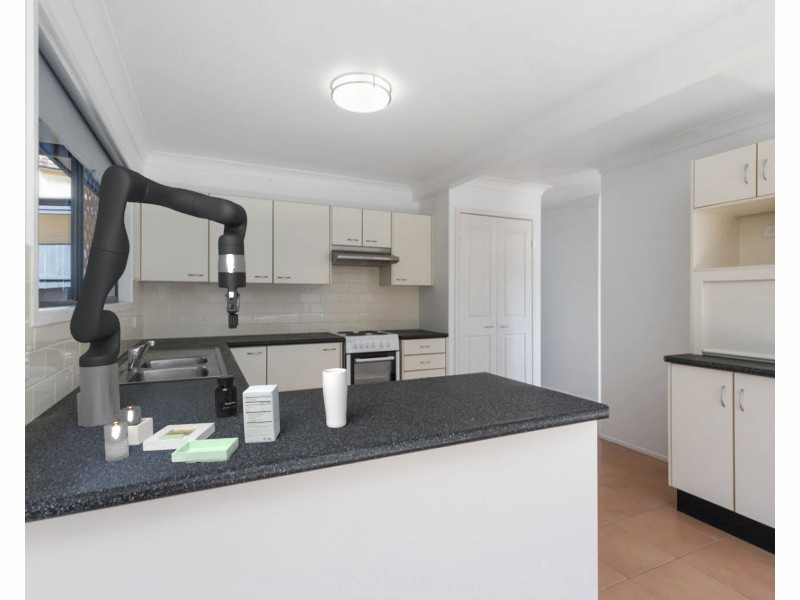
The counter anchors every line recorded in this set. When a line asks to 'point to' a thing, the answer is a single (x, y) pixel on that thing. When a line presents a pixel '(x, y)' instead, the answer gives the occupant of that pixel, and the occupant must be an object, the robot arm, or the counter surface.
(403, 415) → the counter surface
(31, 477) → the counter surface
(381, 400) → the counter surface
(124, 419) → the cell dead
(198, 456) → the trough
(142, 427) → the white open box sleeve
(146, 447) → the frame
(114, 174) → the robot arm
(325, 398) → the drinking glass
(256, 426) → the supplement box
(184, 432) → the contact plate
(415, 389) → the counter surface
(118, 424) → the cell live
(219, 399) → the supplement bottle
